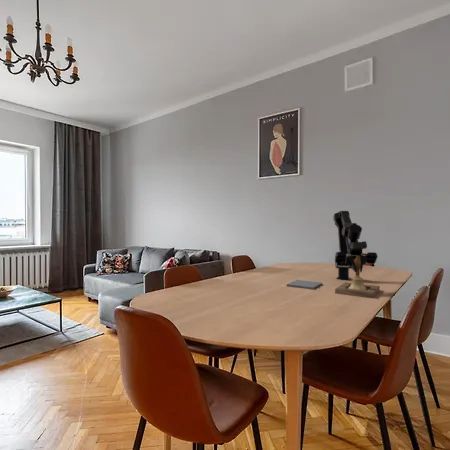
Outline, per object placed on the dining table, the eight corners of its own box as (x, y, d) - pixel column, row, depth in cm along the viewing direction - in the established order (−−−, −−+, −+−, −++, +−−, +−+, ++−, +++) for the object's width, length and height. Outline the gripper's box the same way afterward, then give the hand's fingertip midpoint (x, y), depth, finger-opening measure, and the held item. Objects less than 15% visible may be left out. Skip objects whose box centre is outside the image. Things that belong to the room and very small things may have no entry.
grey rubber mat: (297, 281, 172) (296, 279, 172) (322, 284, 164) (322, 282, 164) (286, 286, 161) (286, 284, 161) (313, 289, 153) (313, 287, 153)
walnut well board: (345, 286, 159) (345, 282, 159) (379, 290, 150) (379, 286, 150) (335, 293, 145) (335, 288, 145) (372, 297, 135) (372, 293, 135)
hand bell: (347, 287, 153) (347, 254, 153) (366, 288, 150) (366, 255, 150) (348, 290, 145) (348, 256, 145) (368, 292, 142) (368, 257, 142)
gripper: (335, 235, 152) (340, 261, 142) (376, 235, 149) (384, 261, 139) (332, 249, 160) (336, 275, 150) (371, 250, 157) (378, 276, 147)
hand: (358, 271), depth 146 cm, fingers closed on hand bell
